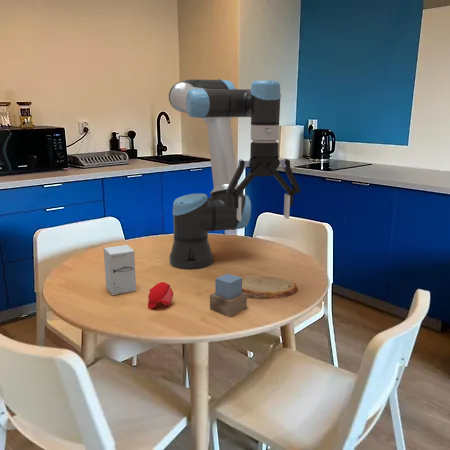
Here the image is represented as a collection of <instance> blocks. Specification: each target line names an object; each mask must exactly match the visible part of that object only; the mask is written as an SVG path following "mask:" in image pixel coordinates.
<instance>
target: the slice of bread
mask: <svg viewBox="0 0 450 450" xmlns="http://www.w3.org/2000/svg"><path fill="white" fill-rule="evenodd" d="M237 276H238V277H241V278H242V292H244V293H247V299H254V300H264V299H265V300H266V299H269V300H272V299H280V298H281V299H282V298H288V297H291V296H294V295H295V294H297V293H298V292H299V288H298V286H297V284H296V282H294V281H293V280H291V279H286V278H280V277H275V276H265V275H253V274H252V275H251V274H243V273H241V274H237Z"/></svg>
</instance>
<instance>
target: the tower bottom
mask: <svg viewBox="0 0 450 450" xmlns="http://www.w3.org/2000/svg"><path fill="white" fill-rule="evenodd" d="M247 305H248V298H247V293H244V292H242V294H240V295H238V296H236V297H234V298H232V299H227V298H224V297H221V296H218V295H215V292H213V293H210V294H209V310H210V311H213V312H215V313H218V314H221V315H223V316H226V317H229V318H232V317H233V316H235V315H237V314H239V313H240V312H242V311H244V310H246V309H247V308H248V306H247Z"/></svg>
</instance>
